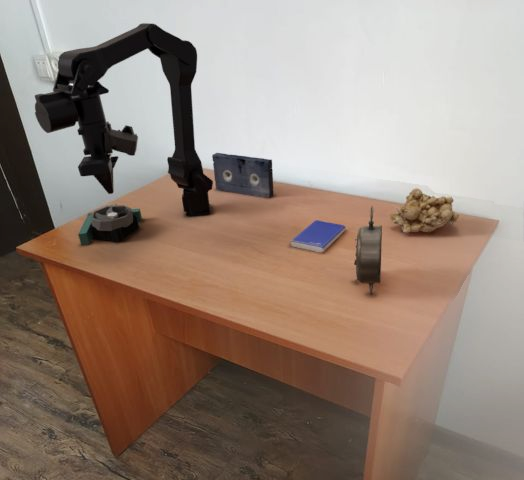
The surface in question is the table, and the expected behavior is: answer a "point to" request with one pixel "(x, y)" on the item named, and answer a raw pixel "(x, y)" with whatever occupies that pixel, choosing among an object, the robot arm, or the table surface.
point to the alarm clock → (369, 254)
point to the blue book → (318, 236)
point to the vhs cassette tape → (243, 174)
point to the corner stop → (85, 230)
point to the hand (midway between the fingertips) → (111, 193)
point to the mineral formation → (424, 212)
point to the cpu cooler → (113, 223)
